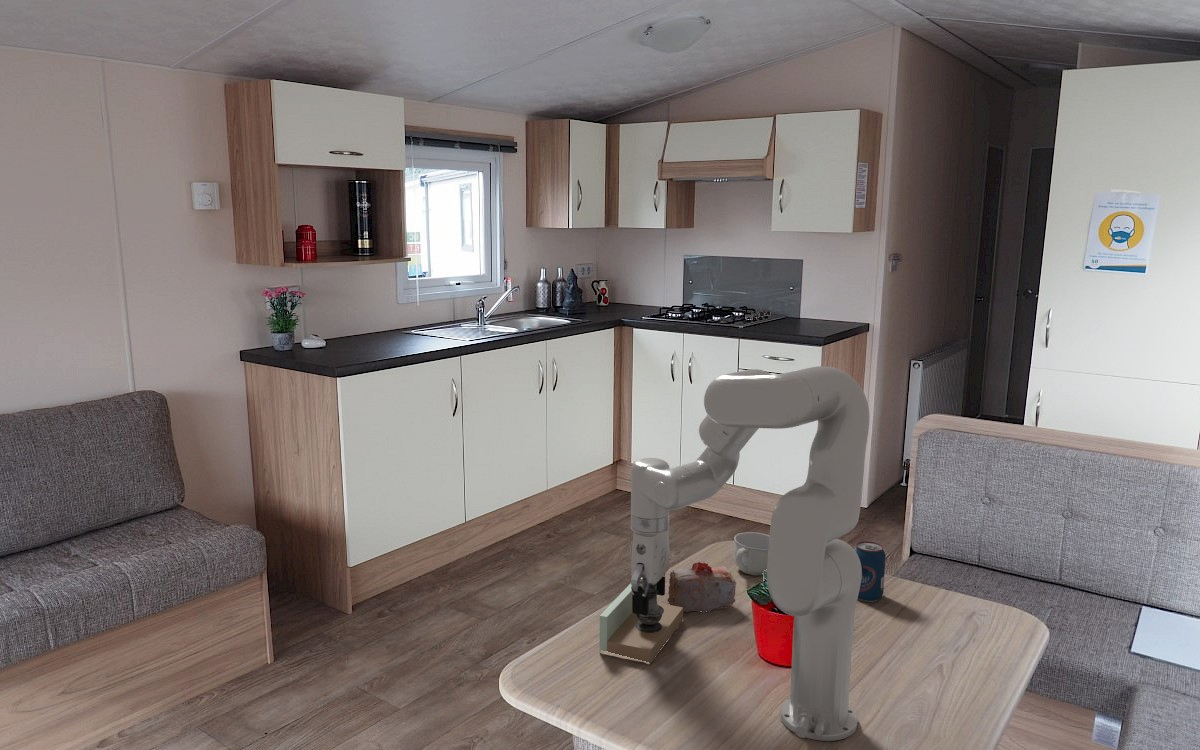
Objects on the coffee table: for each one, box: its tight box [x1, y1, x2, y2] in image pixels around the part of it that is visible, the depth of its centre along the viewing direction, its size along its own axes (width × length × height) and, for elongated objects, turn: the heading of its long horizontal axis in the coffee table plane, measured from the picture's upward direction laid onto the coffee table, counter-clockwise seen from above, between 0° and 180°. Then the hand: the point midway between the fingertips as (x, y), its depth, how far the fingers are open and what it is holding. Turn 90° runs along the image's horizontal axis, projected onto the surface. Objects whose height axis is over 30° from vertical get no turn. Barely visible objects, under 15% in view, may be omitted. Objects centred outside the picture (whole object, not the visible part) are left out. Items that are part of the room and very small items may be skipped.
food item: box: [667, 561, 737, 613], centre depth 187 cm, size 14×8×10 cm, turn 105°
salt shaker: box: [636, 577, 664, 633], centre depth 171 cm, size 6×6×12 cm
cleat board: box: [599, 577, 684, 663], centre depth 173 cm, size 20×10×8 cm, turn 157°
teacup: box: [733, 531, 770, 576], centre depth 205 cm, size 14×11×8 cm
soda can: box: [853, 540, 887, 603], centre depth 192 cm, size 7×7×12 cm
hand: (648, 603), depth 171 cm, fingers open, 9 cm apart
